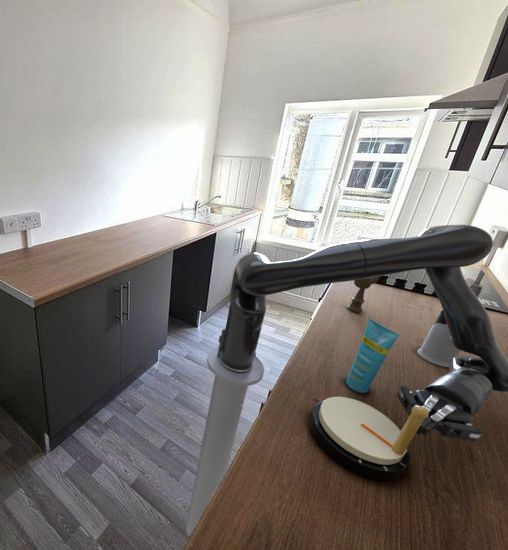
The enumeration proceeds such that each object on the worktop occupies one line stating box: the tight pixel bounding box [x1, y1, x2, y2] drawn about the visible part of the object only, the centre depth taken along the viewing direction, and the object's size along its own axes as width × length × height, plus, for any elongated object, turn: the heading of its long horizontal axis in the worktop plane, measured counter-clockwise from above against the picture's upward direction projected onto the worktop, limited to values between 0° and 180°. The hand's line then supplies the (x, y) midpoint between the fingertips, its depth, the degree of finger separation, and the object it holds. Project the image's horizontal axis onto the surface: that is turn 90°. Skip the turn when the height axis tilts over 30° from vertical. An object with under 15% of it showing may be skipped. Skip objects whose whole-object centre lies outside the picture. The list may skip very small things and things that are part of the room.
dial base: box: [309, 400, 411, 483], centre depth 63 cm, size 17×17×3 cm
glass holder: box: [416, 309, 461, 368], centre depth 90 cm, size 9×14×15 cm, turn 110°
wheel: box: [319, 396, 429, 465], centre depth 60 cm, size 15×15×13 cm
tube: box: [345, 317, 400, 394], centre depth 75 cm, size 7×5×19 cm, turn 19°
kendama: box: [347, 276, 380, 313], centre depth 115 cm, size 6×10×20 cm, turn 130°
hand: (416, 428), depth 54 cm, fingers closed
